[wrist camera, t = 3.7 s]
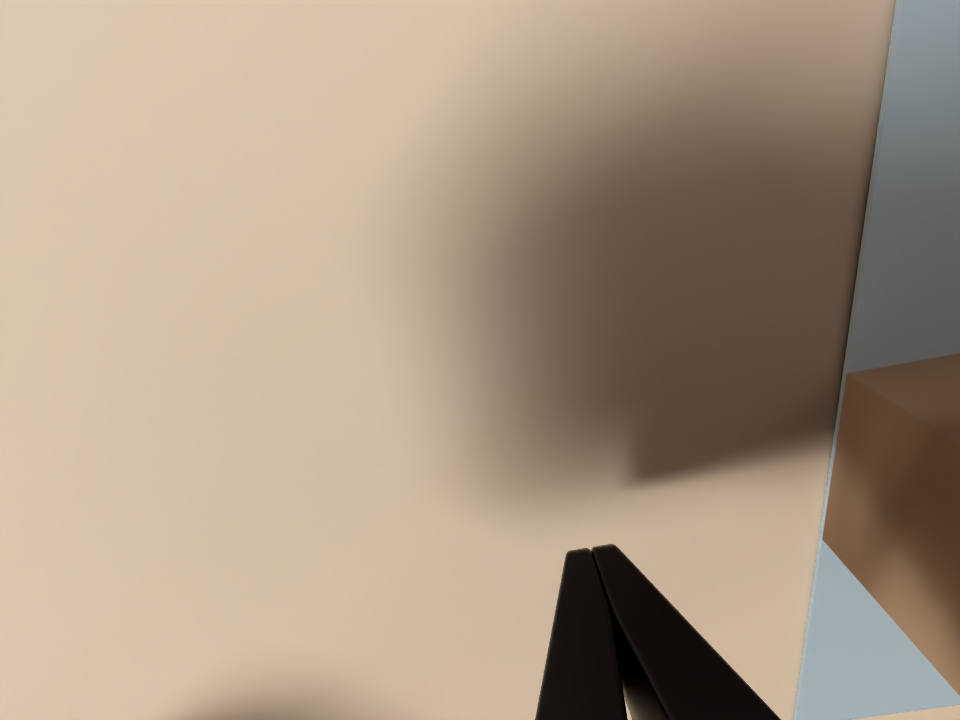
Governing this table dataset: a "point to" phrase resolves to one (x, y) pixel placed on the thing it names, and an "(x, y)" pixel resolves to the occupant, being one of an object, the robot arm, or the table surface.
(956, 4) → the mat
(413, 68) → the table surface
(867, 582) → the tee
